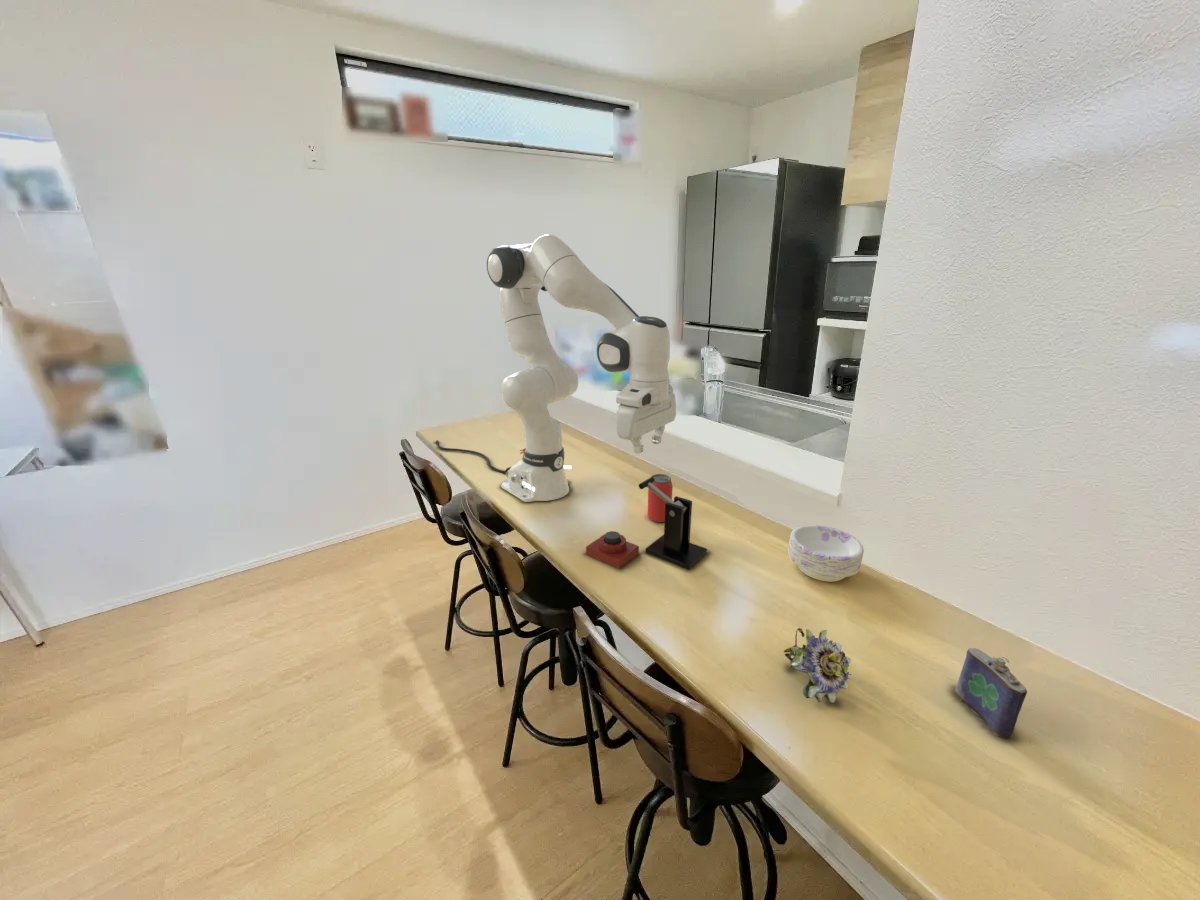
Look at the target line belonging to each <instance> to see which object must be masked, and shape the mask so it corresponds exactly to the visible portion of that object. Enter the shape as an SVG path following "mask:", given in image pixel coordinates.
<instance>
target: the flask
mask: <svg viewBox="0 0 1200 900" xmlns="http://www.w3.org/2000/svg"><path fill="white" fill-rule="evenodd" d="M1007 663H1010V660H1009V658H1006V657H1004V656H1001V657H995V656H990V655H989V654H987V653H986V652H984V651H983V650H981V649H979V648H975V647H969V648H968V649H967V651H966V654H965V659H964V662H963V665H962V669H961V671H960V674H959V677H958V680H957V683H956V685H955V689H954V693H955V695H956V697H957V698H958V699H959V701H960V702H963V703H964V704H965V705H966V706H967V708H968V709H969V710H970V711H971V712H972V713H973V714H974V715H976V716H977V717H979V718H980V721H981V722H983V723H985V724H986V725H987V728H989V729H990V730H991V731H992V732H993V734H994V735H995V736H997V737H1000V738H1001V739H1003V740H1010V739H1011V738H1012V735H1013V733H1014V730H1015V727H1016V725H1017V722H1018V718H1019V716H1020V712H1021V710H1022V707H1023V703H1024V702H1025V699H1026V696H1027V694H1028V690H1027V688H1026V687H1025V685H1024V684H1023V683H1021V681H1019V679H1018V678H1017V677H1016V676H1015V674H1013V673H1012V672H1011V669H1010V668H1009V667H1008V666H1007V665H1006V664H1007Z"/></svg>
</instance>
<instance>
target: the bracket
mask: <svg viewBox="0 0 1200 900" xmlns="http://www.w3.org/2000/svg"><path fill="white" fill-rule="evenodd" d="M678 500H679V501H680V502H681V503H682V504H684V505H685V506H686V507H687V509H686V511H685V512H684V507H682V506H679V505H675V504H672V503H669V502H667V503H665V521H664V527H663V535H661V536H660V537H659V538H658V539H656V540H655V541H653V542H652V543H651V544H649V545H648V546H647V547H646V548H645V554H648V555H651V556H654V557H656V558H659V559H661V560H664V561H665V562H669V563H671V564H673V565H676V566H678V567H681V568H684V569H686V570H690V569H692V567H694V566H695V565H696V564H697V563H698V562H699V561H700V560H701V559H702V558H703V557H704V556H706V555H707V553H708V548H706V547H704V546H700V545H698V544H694V543H692V542H690V541H691V526H692V512H693V511H692V509H693V501H692V500H690V499H688V498H684V497H680V496H674V497H673V501H674V502H676V501H678ZM683 513H684V514H683Z"/></svg>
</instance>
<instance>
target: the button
mask: <svg viewBox="0 0 1200 900" xmlns="http://www.w3.org/2000/svg"><path fill="white" fill-rule="evenodd" d="M604 534H605V542H606V543H607V544H612V545H614V544H618V543H619V542H620V535H621V534H620V533H619V532H618V531H614V530H610V531H607V532H606V533H604Z"/></svg>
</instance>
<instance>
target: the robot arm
mask: <svg viewBox="0 0 1200 900" xmlns="http://www.w3.org/2000/svg"><path fill="white" fill-rule="evenodd" d="M486 271H487V275H488V277H489V279H490V281H491V282H492V284H493V285H494V286H495V287H498V288H500V289H499V293H498V294H499V295H498V296H499V306H500V311H501V318H502V320H503V325H504V329H505V333H506V336H507V340H508V343H509V347H510V350H511V351H512V352H513V353H514V355H516V356H518V357H520V358H522V359H523V360H524V361H525V362H526V363H527V364H528V366H529V368H528V369H523V370H519V371H516V372H514V373H512V374H510V375H507V376H506V377H505V378H504V379H502V382H501V385H500V395H501V396H500V397H501V399H502V401H503V403H504V404H505V405H506V407H508V408H509V409H510V410H512V411H513V412H515V413H516V414H517V416H518V417H519V419H520V421H521V424H522V426H523V432H524V443H525V448H523V449H520V450H519V454H520V455H521V454H523V455H522V458H521V459H520V460H518V462H516V463H515V464H514V465H512V466H509V467H506V469H505V470H504V469H503V470H501V469H499V468H496V467H495V466H493V465H492V464H491V463H490V459H489V458H488V457H487V456H486V455H485V454H484V453H482V452H479V451H475V450H470V449H464V448H463V449H461V448H450V447H443V446H441V445H440V442H439V440H438V439H437V440H436V441H435V444H436V445H437V447H438V448H439V449H441V450H443V451H451V452H452V451H454V452H455V451H456V452H463V453H470V454H475V455H478V456H481V457H483V458H484V459H485V460H486V462H487V465H488V467H489V469H492V470H494V471H495V472H498V473H502V474H506V473H508V474H507V479H505V480H503V482H502V483H501V484H500V487H501V488H502V489H503V490H505V491H506V492H508V493H510V494H511V495H513V496H514V497H516V498H517V499H519V500H521V501H522V502H523V503H531V502H548V501H549V502H550V501H555V500H558V499H559V500H560V499H561V498H563V497H565V496H567V495H568V494H569V492H570V487H569V480H568V478H567V472H566V469H567V470H571V469H572V465H565V449H564V446H563V427H562V424H561V422H560V421H559V420H558V419H557V418H555V417H554V416H551V414H550V412H549V408H548V407H549V405H550V404H554V403H556V402H560V401H564V400H565V399H567V398H569V397H570V396H572V395H574V394H575V393H576V391H577V390H578V386H579V376H578V374H577V373H576V371H575V369H574V367H572V366H571V365H569V364H567V363H566V362H565V361H563V360H562V358H561V357H560V356H559V354H557V352H556V350H555V348H554V346H553V344H552V343H551V340H550V338H549V335H548V332H547V328H546V325H545V321H544V317H543V315H542V310H541V307H540V303H539V299H538V296H539V292H540V291H543V292H548V293H549V295H550V296H551V298H552V299H553V300H555V301H556V302H557V303H558V304H559V305H561V306H562V307H565V308H568V309H573V310H574V309H575V310H581V311H586V312H590V313H594V314H598V315H600V316H602V317H603V318H605V319H606V320H607V321H608V322H609V323H611V325H612V326H613V327H614V328H615V329H614V330H611V331H608V332H605V333H603V334H602V335H601V336H600V338H599V339H598V341H597V344H596V357H597V360H598V363H599V365H600V366H601V367H602V369H603V370H605V371H606V372H609V373H622V372H623V373H624V372H626V373H627V372H628V373H629V382H628V383H627V384H626V386H624V387H623V389H621V390H620V391H619V392H618V393H617V394H616V396H615V402H616V404H619V405H618V406H617V409H616V419H615V421H616V423H615V424H616V425H615V427H616V428H615V429H616V435H617V436H618V438H619V439H621V440H626V441H630V442H631V444H632V445H633V452H634V453H635V454H641V453H643V452H644V444H642V443H641V440H642V436H644V435H646V434H648V433H650V432H652V431H654V433H653V435H652V436H651V443H652V444H654V445H659V444H661V443H662V437H663V434H664V431H665V427H666V425H668V424H669V423H672V422H674V421H675V419H676V417H677V399H676V395H675V393H674V388H673V387H672V385H671V384H670V383H669V382H670V376H669V370H668V365H669V362H670V358H671V357H670V356H671V355H670V354H671V342H670V341H671V338H670V330H669V326H668V324H667V322H665V320H663V319H661V318H658V317H654V316H649V315H640V316H639V314H638V313H637V312H636V311H634V309H633V308H632V307H631V306H630V305H629V304H628V303H627V302H626V301H625V300H624V299H623V298H622V297H621V296H620V295H619V294H618V293H617V292H616V291H615V290H614V289H612V288H611V287H610V286H609V285H608V284H606V283H605V282H604V281H602V279H600V278H599V277H598V276H596V275H595V274H594V273H593V272H592V271H591V270H590V269H589V268H588V267H587V265H586V264H584V263H583V261H582V260H581V259H580V257H579V256H578V254H576V253H575V252H574V251H573V250H572V249H571V248H570V246H569V245H568V244H567V243H565V242H564V241H563V240H562V239H561V238H559V237H558V236H556V235H554V234H543V235H541V236H539V237H538V238H536V239H535V240H534V241H533V242H532V243H522V244H521V243H520V244H513V245H512V244H511V245H508V244H503V245H500V246H497V247H495V248H492V249H491V251H490V252H489V253H488V256H487V259H486Z"/></svg>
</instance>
